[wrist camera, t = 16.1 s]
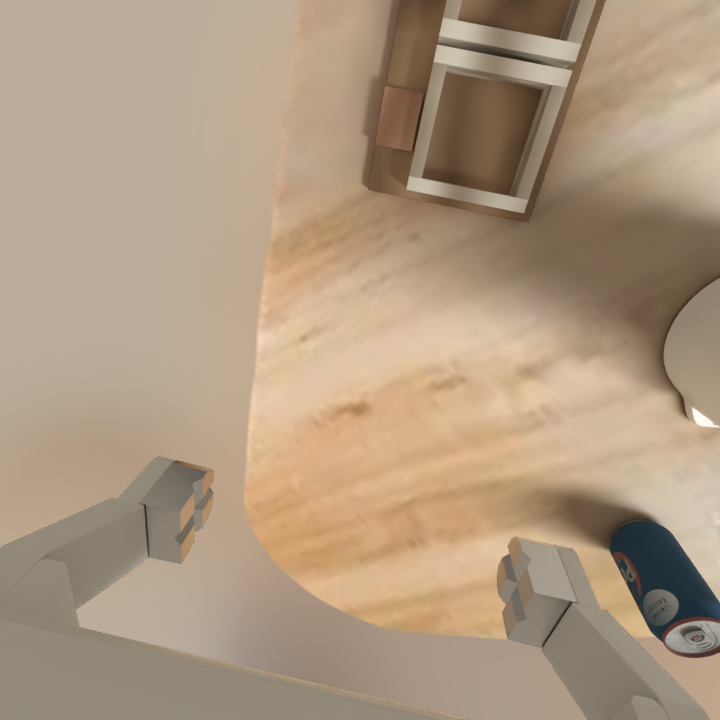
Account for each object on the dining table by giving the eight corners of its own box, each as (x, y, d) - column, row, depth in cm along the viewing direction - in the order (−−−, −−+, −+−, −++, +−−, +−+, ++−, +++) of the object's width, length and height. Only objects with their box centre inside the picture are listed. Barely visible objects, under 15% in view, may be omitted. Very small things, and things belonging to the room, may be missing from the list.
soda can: (593, 531, 50) (643, 632, 39) (650, 506, 47) (719, 606, 37) (623, 564, 52) (678, 669, 41) (679, 541, 49) (754, 647, 38)
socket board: (640, -112, 27) (670, -149, 24) (525, 220, 36) (535, 226, 33) (428, -150, 27) (430, -191, 24) (369, 188, 36) (364, 191, 33)
